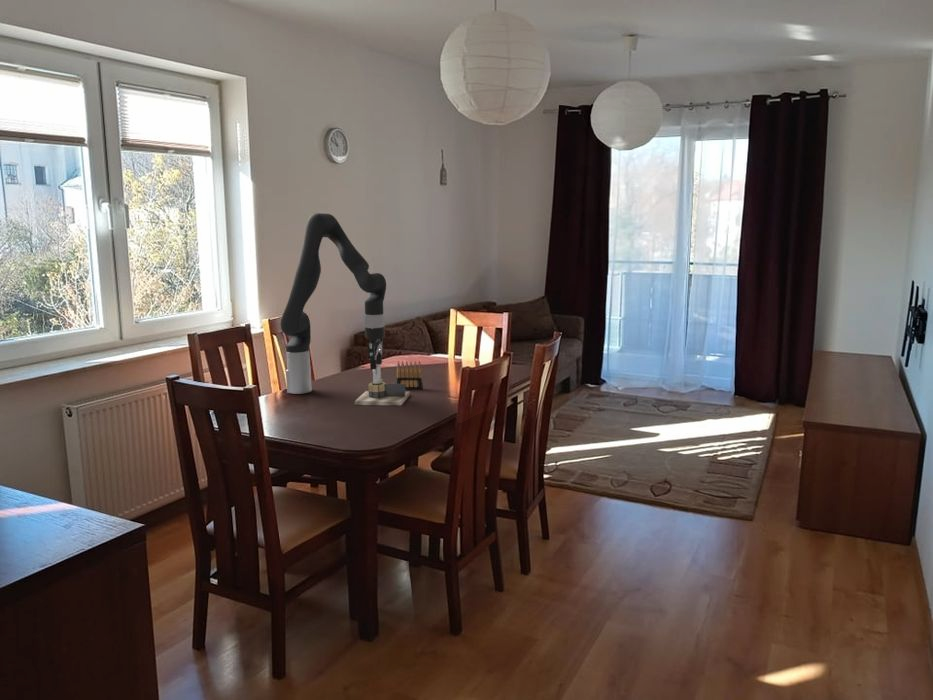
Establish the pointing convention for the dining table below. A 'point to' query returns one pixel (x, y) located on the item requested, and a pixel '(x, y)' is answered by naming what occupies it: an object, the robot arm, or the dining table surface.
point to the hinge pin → (377, 376)
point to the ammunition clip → (410, 376)
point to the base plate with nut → (383, 395)
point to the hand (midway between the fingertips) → (376, 366)
